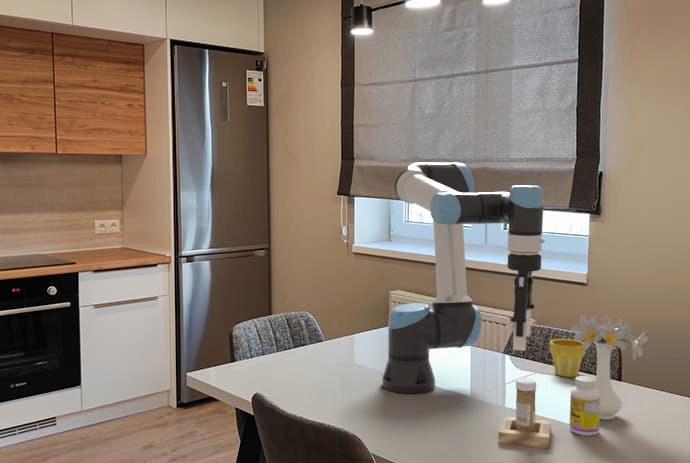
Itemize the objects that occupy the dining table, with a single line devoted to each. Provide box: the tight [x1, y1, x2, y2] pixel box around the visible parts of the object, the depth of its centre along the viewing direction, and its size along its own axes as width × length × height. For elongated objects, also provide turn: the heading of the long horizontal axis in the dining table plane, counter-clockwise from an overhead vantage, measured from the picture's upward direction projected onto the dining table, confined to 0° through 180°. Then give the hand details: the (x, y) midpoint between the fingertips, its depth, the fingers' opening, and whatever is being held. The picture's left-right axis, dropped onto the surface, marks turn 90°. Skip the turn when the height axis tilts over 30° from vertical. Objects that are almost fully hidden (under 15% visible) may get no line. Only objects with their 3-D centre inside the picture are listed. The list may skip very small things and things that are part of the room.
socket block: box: [498, 415, 552, 449], centre depth 164 cm, size 11×11×2 cm
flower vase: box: [569, 315, 649, 421], centre depth 178 cm, size 13×18×25 cm
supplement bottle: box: [569, 375, 600, 437], centre depth 167 cm, size 7×7×13 cm
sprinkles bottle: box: [515, 377, 537, 432], centre depth 164 cm, size 5×5×13 cm
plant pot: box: [549, 338, 586, 378], centre depth 215 cm, size 10×10×10 cm
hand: (521, 342), depth 166 cm, fingers open, 13 cm apart
